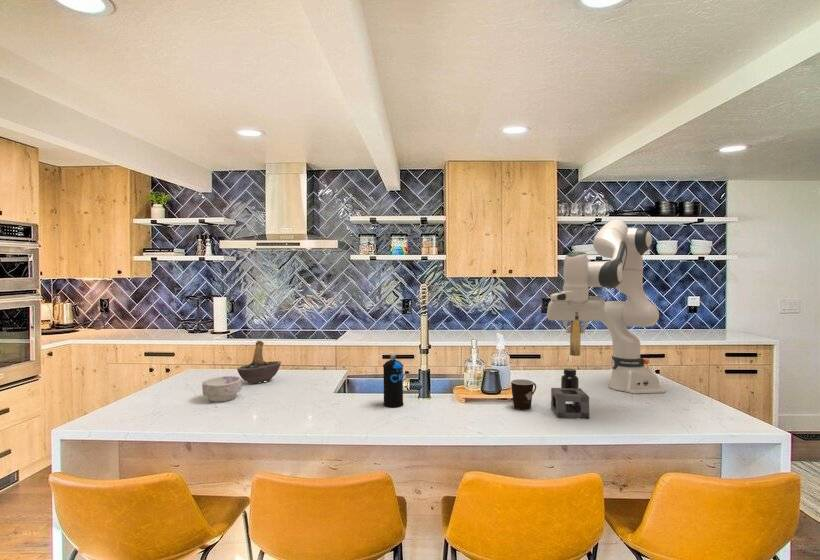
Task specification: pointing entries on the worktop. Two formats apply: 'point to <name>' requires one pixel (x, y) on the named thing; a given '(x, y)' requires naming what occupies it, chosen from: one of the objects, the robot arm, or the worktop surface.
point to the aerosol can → (393, 383)
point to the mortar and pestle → (259, 367)
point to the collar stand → (570, 410)
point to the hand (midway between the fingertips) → (575, 333)
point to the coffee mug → (522, 393)
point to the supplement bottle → (569, 379)
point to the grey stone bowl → (221, 388)
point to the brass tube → (575, 336)
